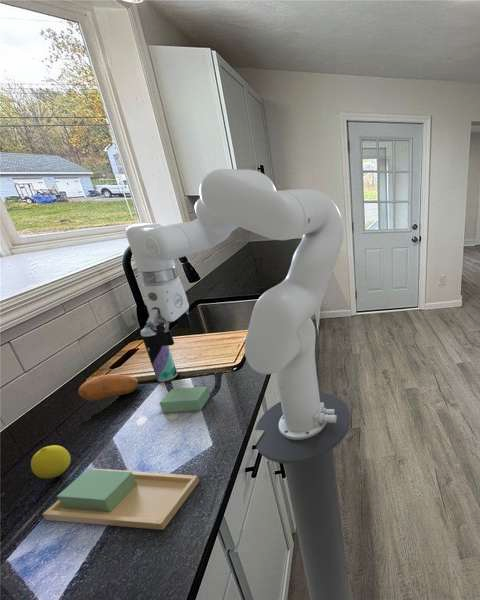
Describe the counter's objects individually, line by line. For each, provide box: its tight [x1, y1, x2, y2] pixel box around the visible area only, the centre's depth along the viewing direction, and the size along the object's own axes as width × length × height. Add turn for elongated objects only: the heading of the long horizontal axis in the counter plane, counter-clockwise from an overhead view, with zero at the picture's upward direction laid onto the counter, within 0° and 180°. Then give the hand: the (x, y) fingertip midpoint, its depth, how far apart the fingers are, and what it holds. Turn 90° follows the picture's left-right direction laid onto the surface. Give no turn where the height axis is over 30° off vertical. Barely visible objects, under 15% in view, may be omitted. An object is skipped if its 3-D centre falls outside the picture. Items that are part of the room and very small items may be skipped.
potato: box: [77, 373, 139, 403], centre depth 93 cm, size 7×13×7 cm, turn 117°
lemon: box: [30, 444, 72, 479], centre depth 67 cm, size 6×6×8 cm
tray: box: [42, 468, 200, 531], centre depth 63 cm, size 24×10×2 cm, turn 85°
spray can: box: [140, 321, 178, 383], centre depth 99 cm, size 6×6×20 cm
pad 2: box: [159, 386, 211, 413], centre depth 89 cm, size 10×6×4 cm, turn 95°
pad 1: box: [56, 468, 137, 512], centre depth 63 cm, size 10×6×4 cm, turn 85°
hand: (176, 335), depth 84 cm, fingers open, 9 cm apart
